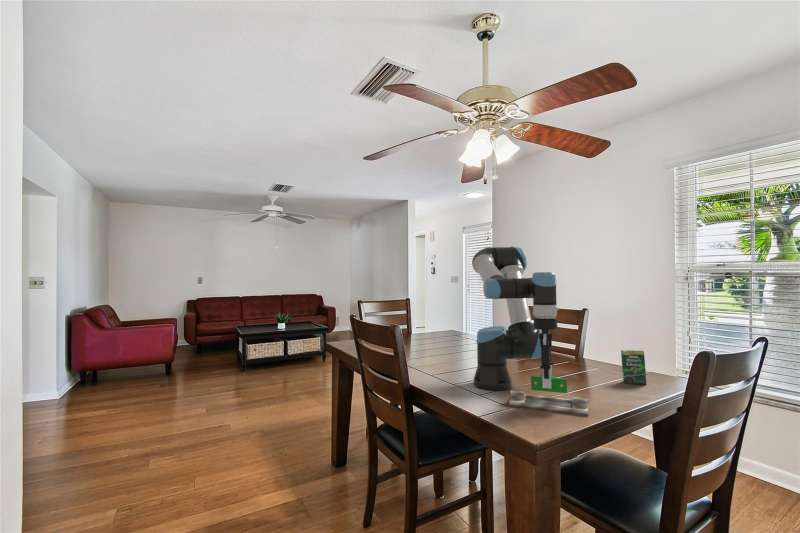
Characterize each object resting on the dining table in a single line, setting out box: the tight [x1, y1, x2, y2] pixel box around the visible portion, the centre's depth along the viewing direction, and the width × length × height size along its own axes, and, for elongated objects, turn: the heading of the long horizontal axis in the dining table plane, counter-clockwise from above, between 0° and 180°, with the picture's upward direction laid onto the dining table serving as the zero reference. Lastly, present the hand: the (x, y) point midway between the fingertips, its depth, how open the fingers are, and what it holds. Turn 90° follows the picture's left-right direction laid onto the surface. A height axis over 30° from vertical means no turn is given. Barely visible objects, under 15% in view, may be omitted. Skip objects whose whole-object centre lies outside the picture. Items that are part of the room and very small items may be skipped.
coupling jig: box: [508, 390, 590, 417], centre depth 124 cm, size 25×10×4 cm, turn 65°
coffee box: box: [620, 349, 647, 385], centre depth 148 cm, size 8×3×13 cm, turn 63°
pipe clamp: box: [530, 374, 568, 394], centre depth 124 cm, size 11×4×5 cm, turn 65°
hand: (547, 386), depth 124 cm, fingers closed on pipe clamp, 4 cm apart
